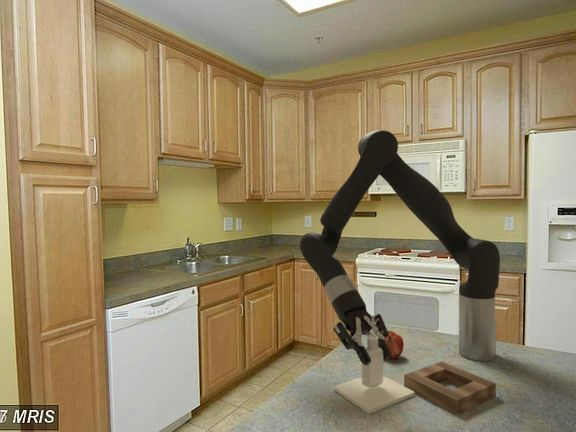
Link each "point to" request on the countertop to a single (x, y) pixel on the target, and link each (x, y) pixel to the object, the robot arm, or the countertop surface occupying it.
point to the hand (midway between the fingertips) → (378, 360)
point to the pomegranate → (394, 344)
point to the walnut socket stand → (457, 400)
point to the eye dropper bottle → (373, 364)
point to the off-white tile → (373, 394)
